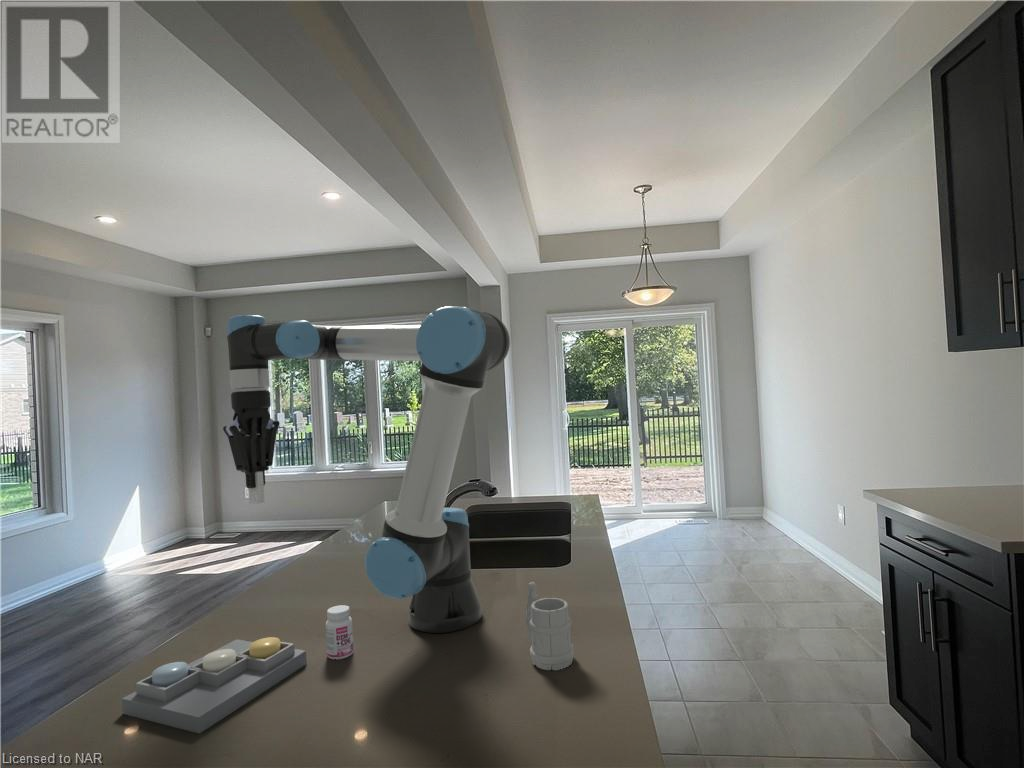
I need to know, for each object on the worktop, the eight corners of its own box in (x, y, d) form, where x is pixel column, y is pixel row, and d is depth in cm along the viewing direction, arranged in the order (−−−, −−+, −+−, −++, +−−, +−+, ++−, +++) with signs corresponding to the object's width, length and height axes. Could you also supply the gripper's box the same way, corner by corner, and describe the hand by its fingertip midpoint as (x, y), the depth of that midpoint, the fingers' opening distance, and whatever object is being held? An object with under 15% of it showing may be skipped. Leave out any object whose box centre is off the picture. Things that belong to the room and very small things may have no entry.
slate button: (195, 678, 97) (194, 664, 97) (167, 694, 92) (166, 678, 92) (174, 674, 99) (173, 660, 99) (145, 689, 94) (144, 674, 94)
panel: (306, 663, 106) (305, 640, 106) (199, 733, 86) (197, 704, 86) (237, 651, 113) (236, 629, 113) (122, 713, 93) (121, 687, 93)
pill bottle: (339, 662, 106) (336, 615, 106) (321, 657, 109) (319, 611, 109) (359, 651, 110) (356, 606, 110) (341, 646, 113) (339, 602, 113)
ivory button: (242, 665, 101) (242, 651, 101) (218, 679, 96) (217, 664, 96) (221, 661, 103) (220, 647, 103) (196, 674, 98) (195, 660, 98)
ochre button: (287, 652, 105) (286, 639, 105) (265, 665, 100) (264, 651, 100) (265, 648, 107) (265, 635, 107) (243, 661, 102) (242, 647, 102)
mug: (545, 676, 97) (541, 603, 97) (511, 649, 108) (507, 584, 108) (583, 663, 101) (579, 593, 101) (547, 638, 111) (543, 575, 111)
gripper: (261, 389, 131) (267, 496, 131) (210, 392, 119) (217, 509, 119) (287, 388, 128) (293, 496, 128) (238, 390, 116) (245, 510, 116)
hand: (256, 502), depth 123 cm, fingers closed
